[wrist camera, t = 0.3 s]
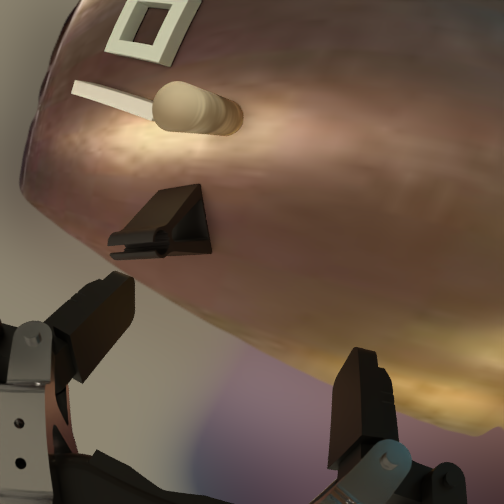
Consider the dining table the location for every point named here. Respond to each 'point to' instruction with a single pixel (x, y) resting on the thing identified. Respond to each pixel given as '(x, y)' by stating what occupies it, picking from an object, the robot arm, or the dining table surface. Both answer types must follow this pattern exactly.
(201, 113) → the dowel
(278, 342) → the dining table surface
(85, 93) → the backstop wall
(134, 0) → the pale green square frame
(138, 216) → the phone stand
